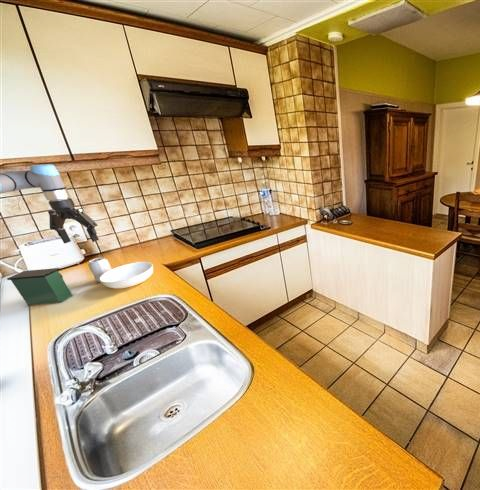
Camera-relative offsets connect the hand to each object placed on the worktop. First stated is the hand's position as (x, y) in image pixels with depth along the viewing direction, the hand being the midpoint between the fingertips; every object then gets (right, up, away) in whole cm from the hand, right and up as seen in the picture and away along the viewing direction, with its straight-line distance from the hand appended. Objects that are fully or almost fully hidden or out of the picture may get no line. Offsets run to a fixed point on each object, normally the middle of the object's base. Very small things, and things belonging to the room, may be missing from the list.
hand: (81, 241), depth 130 cm
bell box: (-9, -28, -6) cm, 30 cm away
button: (-9, -20, -3) cm, 22 cm away
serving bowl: (+19, -21, +6) cm, 30 cm away
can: (+2, -20, +11) cm, 23 cm away
